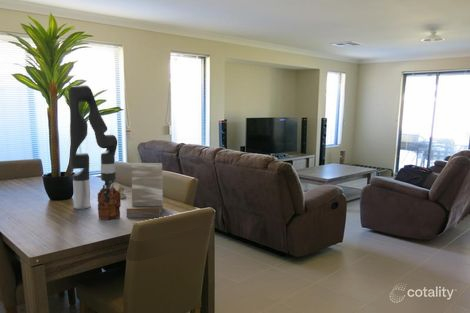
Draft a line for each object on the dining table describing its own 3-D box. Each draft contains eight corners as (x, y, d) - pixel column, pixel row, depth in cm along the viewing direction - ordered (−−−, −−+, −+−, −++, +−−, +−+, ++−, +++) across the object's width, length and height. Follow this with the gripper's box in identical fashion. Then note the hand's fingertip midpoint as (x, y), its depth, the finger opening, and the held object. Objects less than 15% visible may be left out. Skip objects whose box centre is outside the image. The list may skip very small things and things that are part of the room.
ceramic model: (104, 196, 249) (104, 182, 247) (119, 193, 257) (119, 179, 256) (115, 200, 240) (115, 185, 238) (130, 197, 248) (130, 182, 246)
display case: (132, 208, 220) (131, 163, 216) (162, 208, 222) (162, 163, 218) (126, 217, 203) (125, 168, 199) (159, 217, 204) (158, 168, 200)
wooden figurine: (98, 221, 196) (97, 188, 193) (98, 217, 201) (97, 186, 199) (121, 218, 200) (120, 187, 198) (120, 215, 206) (119, 184, 203)
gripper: (104, 169, 204) (105, 197, 206) (97, 173, 190) (98, 204, 192) (118, 169, 205) (119, 197, 207) (112, 173, 190) (112, 204, 193)
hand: (109, 200), depth 199 cm, fingers closed on wooden figurine, 7 cm apart
